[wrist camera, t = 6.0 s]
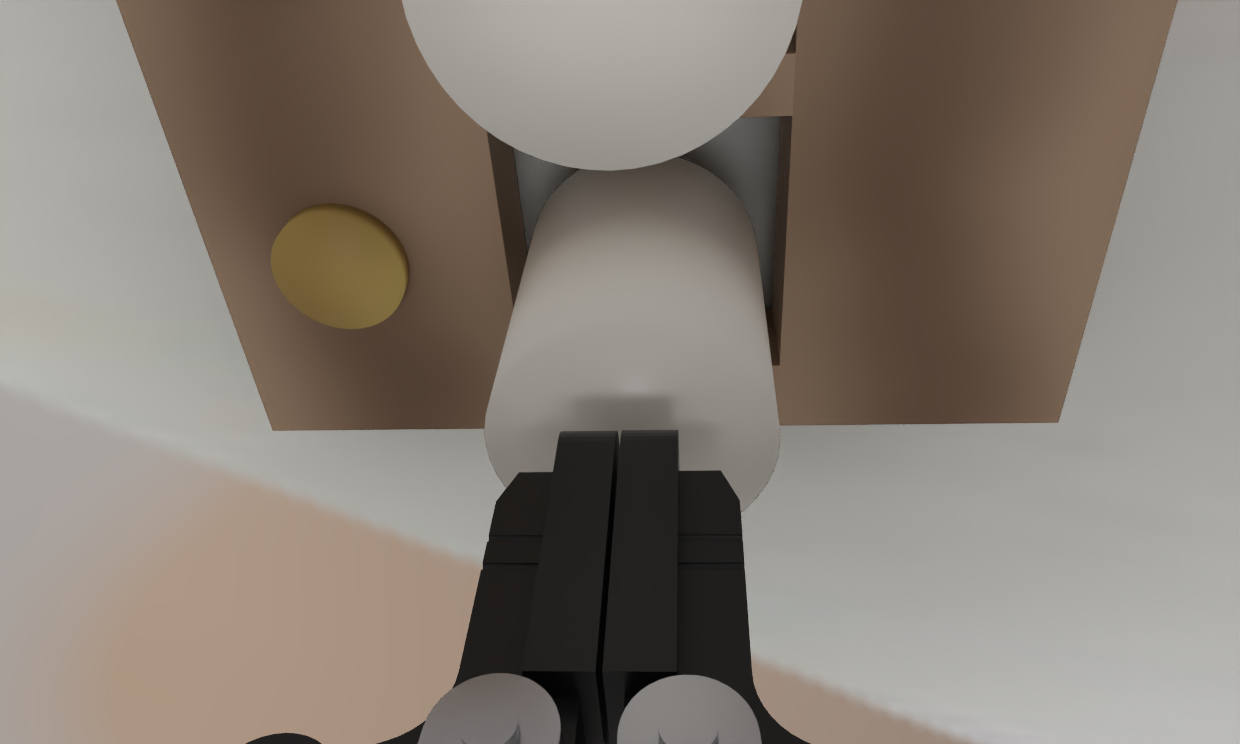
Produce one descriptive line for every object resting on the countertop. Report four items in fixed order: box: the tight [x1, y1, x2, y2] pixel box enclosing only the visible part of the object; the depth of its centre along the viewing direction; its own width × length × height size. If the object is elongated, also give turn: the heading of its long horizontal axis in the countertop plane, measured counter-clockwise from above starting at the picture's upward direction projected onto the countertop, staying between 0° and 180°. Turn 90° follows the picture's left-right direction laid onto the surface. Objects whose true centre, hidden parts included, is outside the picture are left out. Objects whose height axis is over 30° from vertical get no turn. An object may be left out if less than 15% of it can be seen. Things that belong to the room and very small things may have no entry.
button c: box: [484, 157, 780, 512], centre depth 15 cm, size 4×4×5 cm
